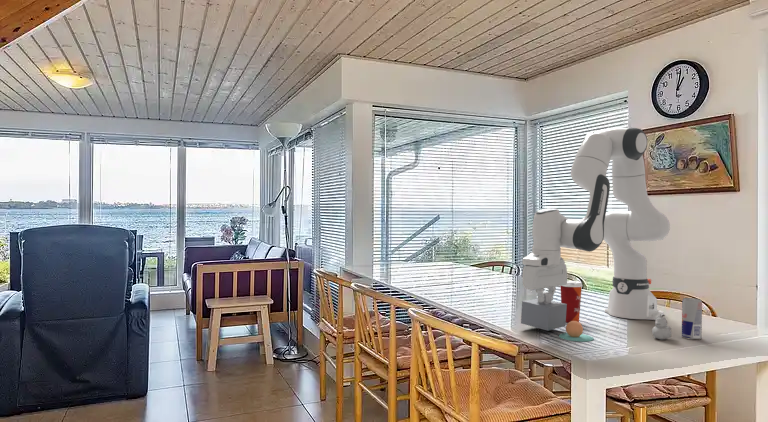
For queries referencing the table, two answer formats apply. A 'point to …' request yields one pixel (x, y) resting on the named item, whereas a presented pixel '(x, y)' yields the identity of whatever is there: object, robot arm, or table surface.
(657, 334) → the rubber duck
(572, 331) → the ball
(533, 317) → the grey rectangular box
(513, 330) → the table surface
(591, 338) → the disc
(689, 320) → the energy drink
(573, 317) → the paper cup
